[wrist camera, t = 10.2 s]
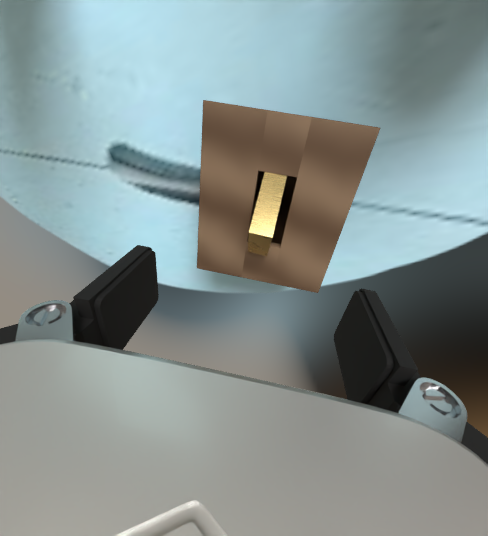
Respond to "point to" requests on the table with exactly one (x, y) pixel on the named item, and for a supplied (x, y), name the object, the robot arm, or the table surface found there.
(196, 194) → the table surface
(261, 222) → the golden flat plank
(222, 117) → the coin box
